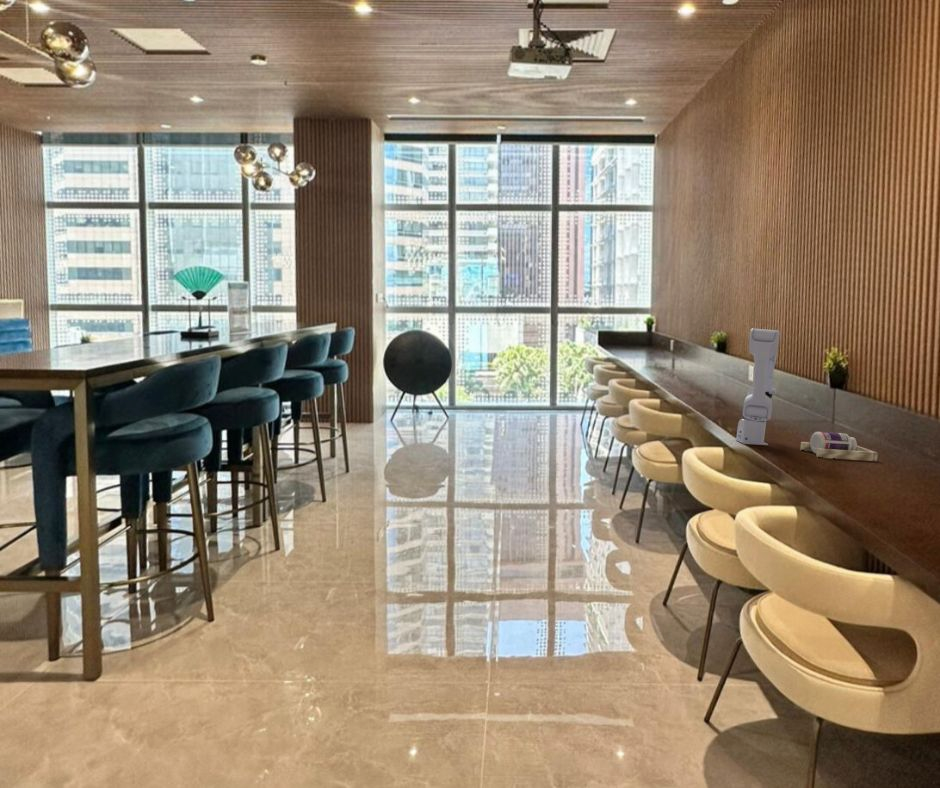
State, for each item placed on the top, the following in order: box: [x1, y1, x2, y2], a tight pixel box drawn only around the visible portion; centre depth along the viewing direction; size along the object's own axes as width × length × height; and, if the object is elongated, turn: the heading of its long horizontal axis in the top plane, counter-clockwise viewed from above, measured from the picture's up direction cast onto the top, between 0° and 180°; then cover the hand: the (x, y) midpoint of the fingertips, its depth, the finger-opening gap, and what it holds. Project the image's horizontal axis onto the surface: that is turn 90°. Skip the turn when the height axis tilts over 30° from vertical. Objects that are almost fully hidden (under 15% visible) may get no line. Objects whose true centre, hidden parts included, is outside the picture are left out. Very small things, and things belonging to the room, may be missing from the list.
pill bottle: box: [809, 431, 858, 454], centre depth 283 cm, size 8×8×14 cm
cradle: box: [799, 441, 879, 462], centre depth 282 cm, size 22×13×3 cm, turn 94°
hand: (760, 411), depth 308 cm, fingers closed
